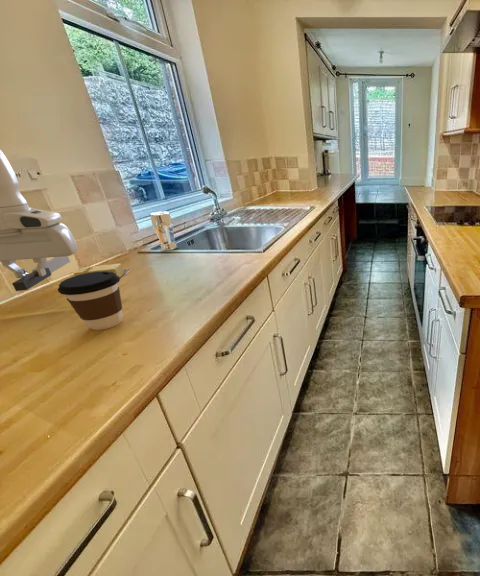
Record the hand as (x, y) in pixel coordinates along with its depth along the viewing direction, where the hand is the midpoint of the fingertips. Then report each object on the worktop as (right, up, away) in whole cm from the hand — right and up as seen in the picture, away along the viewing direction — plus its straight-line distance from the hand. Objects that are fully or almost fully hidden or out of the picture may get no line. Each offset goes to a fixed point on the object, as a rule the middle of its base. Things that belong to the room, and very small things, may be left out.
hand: (32, 276), depth 76 cm
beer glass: (-8, +14, +60) cm, 62 cm away
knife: (-2, +1, +5) cm, 6 cm away
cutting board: (-7, -1, +25) cm, 26 cm away
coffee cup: (+16, -12, +2) cm, 20 cm away
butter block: (-4, +1, +26) cm, 26 cm away
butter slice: (-9, 0, +24) cm, 26 cm away
